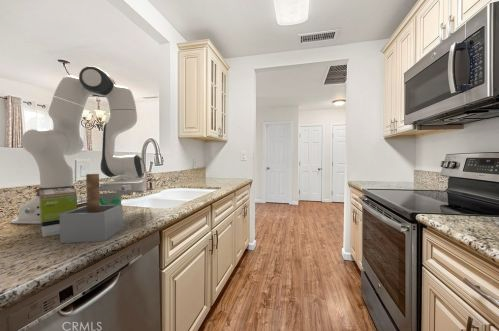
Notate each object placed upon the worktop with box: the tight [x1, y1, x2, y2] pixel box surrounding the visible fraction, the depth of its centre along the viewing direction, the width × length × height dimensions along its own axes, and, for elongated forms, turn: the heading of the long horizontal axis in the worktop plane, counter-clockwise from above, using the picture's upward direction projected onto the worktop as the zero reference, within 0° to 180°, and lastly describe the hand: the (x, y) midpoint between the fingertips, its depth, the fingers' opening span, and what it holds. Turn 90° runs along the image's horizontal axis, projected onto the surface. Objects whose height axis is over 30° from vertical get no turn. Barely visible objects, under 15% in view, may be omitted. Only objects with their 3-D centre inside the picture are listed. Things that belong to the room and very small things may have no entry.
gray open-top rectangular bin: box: [59, 204, 124, 244], centre depth 77 cm, size 13×13×9 cm
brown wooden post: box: [85, 173, 101, 213], centre depth 76 cm, size 8×5×20 cm, turn 97°
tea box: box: [39, 188, 78, 238], centre depth 83 cm, size 15×10×15 cm, turn 45°
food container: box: [100, 191, 124, 205], centre depth 110 cm, size 12×6×10 cm, turn 168°
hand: (110, 188), depth 88 cm, fingers open, 8 cm apart
